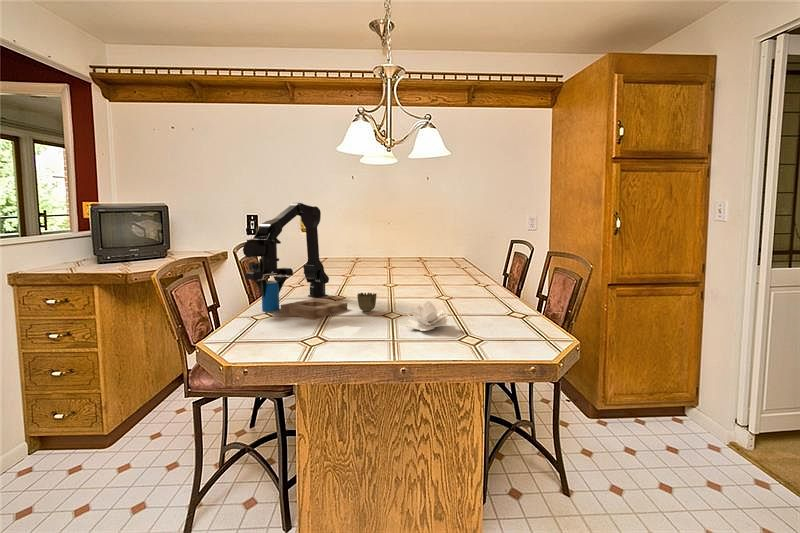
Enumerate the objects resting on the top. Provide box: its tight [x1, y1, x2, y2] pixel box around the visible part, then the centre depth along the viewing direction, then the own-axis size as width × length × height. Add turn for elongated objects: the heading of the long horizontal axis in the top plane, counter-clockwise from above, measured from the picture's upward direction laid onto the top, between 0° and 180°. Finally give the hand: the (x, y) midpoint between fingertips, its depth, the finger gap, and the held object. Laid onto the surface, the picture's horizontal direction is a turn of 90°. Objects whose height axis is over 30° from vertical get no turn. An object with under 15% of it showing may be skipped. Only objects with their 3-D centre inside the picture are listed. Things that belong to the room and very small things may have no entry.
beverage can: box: [261, 280, 280, 313], centre depth 173 cm, size 6×6×12 cm
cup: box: [356, 292, 377, 314], centre depth 169 cm, size 8×7×8 cm
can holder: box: [280, 297, 348, 321], centre depth 172 cm, size 18×18×4 cm
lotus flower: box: [406, 300, 449, 332], centre depth 149 cm, size 14×15×9 cm
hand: (270, 295), depth 173 cm, fingers closed on beverage can, 6 cm apart
